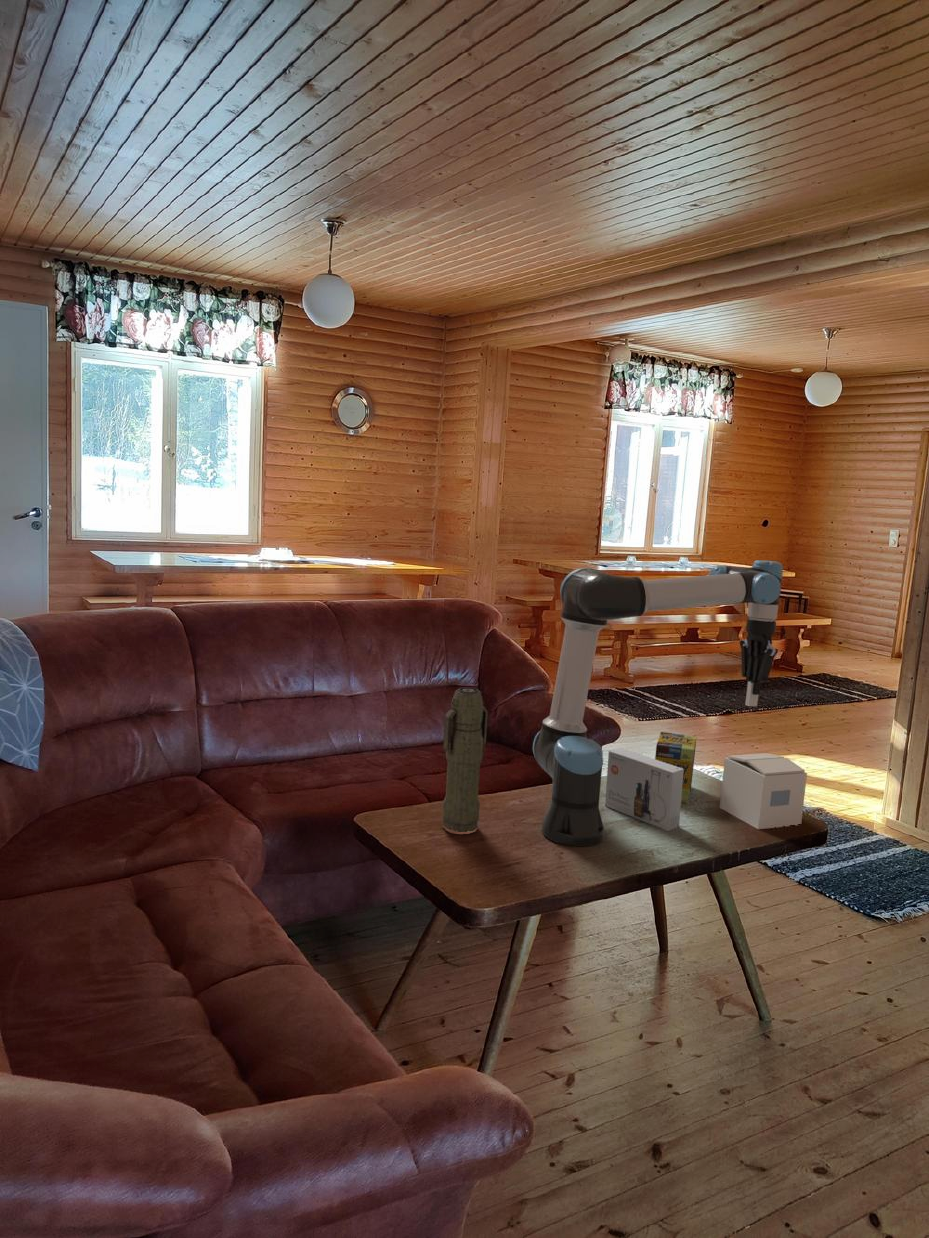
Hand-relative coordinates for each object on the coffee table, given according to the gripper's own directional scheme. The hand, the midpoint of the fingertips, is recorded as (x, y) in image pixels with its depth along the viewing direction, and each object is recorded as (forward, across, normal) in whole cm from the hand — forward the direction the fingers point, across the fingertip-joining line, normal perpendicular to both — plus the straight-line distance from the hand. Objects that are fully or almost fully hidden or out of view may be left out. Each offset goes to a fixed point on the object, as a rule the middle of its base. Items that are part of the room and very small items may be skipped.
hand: (751, 705), depth 241 cm
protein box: (+30, +17, +10) cm, 36 cm away
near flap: (+15, -9, -3) cm, 17 cm away
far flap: (+15, -1, -3) cm, 15 cm away
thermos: (+31, +4, +80) cm, 86 cm away
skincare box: (+30, +2, +30) cm, 43 cm away
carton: (+30, -5, -3) cm, 30 cm away
